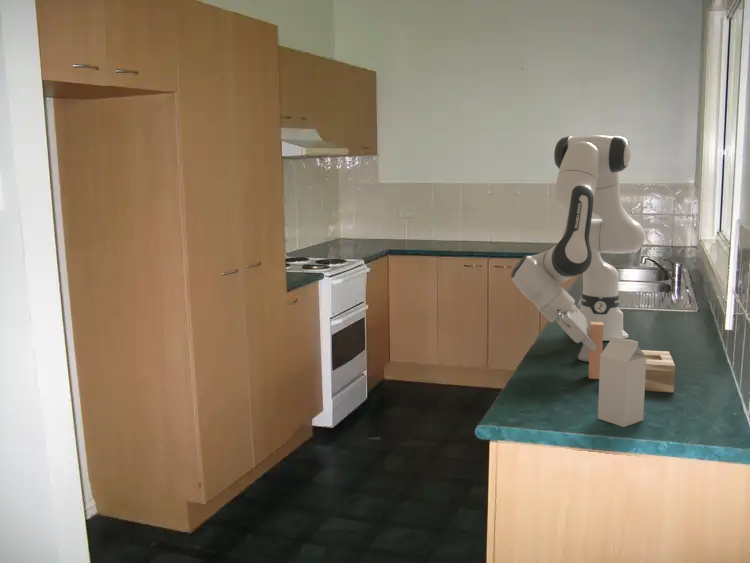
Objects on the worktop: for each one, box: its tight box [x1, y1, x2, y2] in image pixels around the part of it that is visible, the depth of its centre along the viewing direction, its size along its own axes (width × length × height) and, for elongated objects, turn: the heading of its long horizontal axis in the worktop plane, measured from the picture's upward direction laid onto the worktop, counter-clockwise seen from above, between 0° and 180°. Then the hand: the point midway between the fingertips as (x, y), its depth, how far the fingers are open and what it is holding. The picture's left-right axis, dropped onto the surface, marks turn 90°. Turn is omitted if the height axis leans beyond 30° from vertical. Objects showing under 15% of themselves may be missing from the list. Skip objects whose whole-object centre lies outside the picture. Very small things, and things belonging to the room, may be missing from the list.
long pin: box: [588, 322, 604, 380], centre depth 199 cm, size 3×3×15 cm
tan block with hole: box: [640, 349, 676, 393], centre depth 194 cm, size 14×10×7 cm
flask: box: [577, 326, 591, 363], centre depth 216 cm, size 7×7×10 cm
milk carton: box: [597, 336, 646, 428], centre depth 166 cm, size 7×7×19 cm
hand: (594, 344), depth 198 cm, fingers open, 8 cm apart
